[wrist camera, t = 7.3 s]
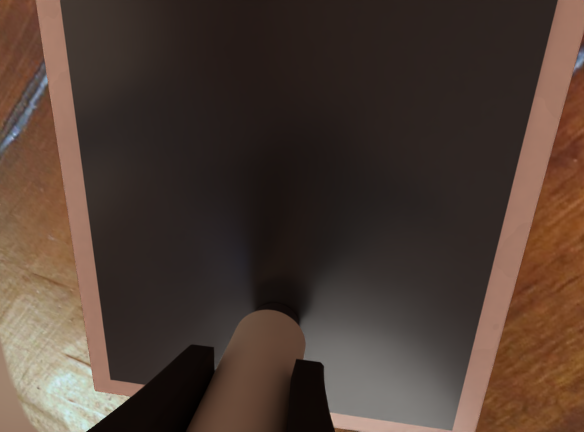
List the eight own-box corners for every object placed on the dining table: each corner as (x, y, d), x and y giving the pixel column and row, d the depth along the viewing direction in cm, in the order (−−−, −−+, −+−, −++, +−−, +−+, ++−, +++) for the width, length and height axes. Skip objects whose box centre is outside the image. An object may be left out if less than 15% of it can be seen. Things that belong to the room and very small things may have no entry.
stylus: (241, 348, 15) (90, 702, 6) (243, 289, 14) (77, 596, 6) (306, 357, 15) (238, 737, 6) (311, 297, 14) (243, 631, 6)
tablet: (107, 373, 18) (92, 393, 17) (17, -298, 11) (-20, -333, 10) (465, 426, 16) (471, 451, 15) (658, -322, 9) (697, -369, 8)
